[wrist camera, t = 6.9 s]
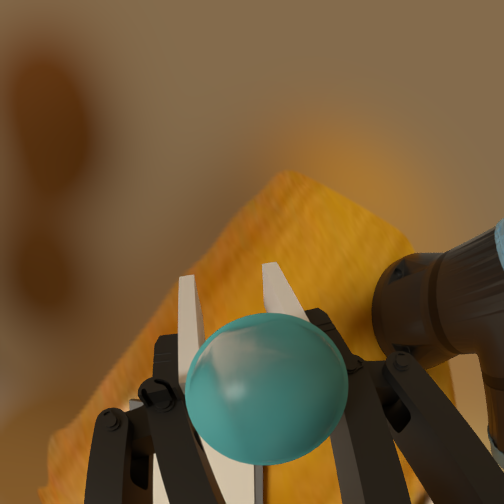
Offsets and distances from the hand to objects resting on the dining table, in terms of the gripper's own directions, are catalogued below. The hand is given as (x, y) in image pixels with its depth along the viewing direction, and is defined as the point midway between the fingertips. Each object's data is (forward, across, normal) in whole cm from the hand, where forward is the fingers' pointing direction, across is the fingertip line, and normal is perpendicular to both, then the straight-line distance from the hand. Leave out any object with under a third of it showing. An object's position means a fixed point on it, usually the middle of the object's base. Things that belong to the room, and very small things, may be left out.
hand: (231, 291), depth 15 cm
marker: (0, 0, -5) cm, 5 cm away
